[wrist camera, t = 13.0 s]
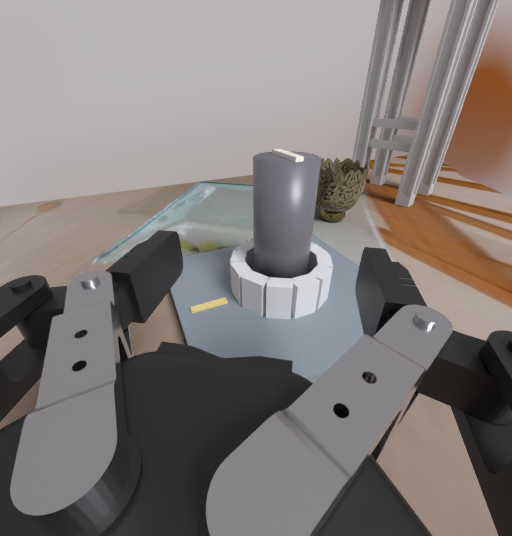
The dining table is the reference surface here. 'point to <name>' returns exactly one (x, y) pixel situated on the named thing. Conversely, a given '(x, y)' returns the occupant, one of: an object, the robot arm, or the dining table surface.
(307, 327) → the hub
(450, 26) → the stool
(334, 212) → the cup
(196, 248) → the dining table surface
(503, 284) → the dining table surface
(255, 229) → the grey cylinder with tab
